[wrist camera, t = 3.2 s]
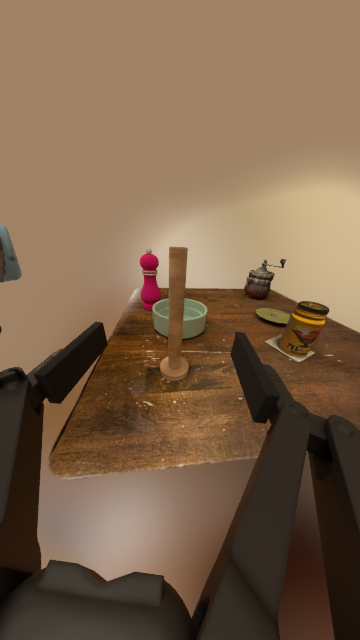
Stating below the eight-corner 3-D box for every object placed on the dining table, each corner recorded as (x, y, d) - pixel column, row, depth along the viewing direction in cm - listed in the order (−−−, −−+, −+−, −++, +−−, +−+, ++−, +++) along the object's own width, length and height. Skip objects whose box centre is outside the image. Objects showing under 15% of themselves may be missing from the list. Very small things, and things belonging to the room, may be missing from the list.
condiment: (298, 363, 33) (326, 314, 28) (264, 342, 40) (280, 299, 34) (314, 353, 36) (342, 308, 31) (280, 335, 43) (297, 295, 37)
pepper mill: (146, 302, 61) (143, 247, 51) (163, 304, 59) (163, 248, 50) (138, 309, 54) (132, 248, 45) (156, 312, 53) (154, 249, 43)
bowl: (142, 327, 43) (140, 308, 41) (173, 310, 55) (173, 294, 52) (187, 348, 36) (189, 326, 33) (212, 323, 47) (215, 305, 45)
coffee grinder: (262, 305, 63) (278, 259, 55) (236, 294, 75) (245, 255, 66) (281, 301, 69) (297, 259, 60) (254, 291, 80) (264, 255, 72)
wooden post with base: (154, 371, 29) (147, 246, 19) (171, 356, 33) (173, 245, 23) (177, 386, 27) (185, 249, 16) (193, 367, 31) (207, 248, 20)
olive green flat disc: (295, 320, 52) (297, 315, 51) (286, 332, 45) (288, 326, 44) (261, 310, 59) (263, 305, 58) (249, 318, 52) (250, 313, 51)
